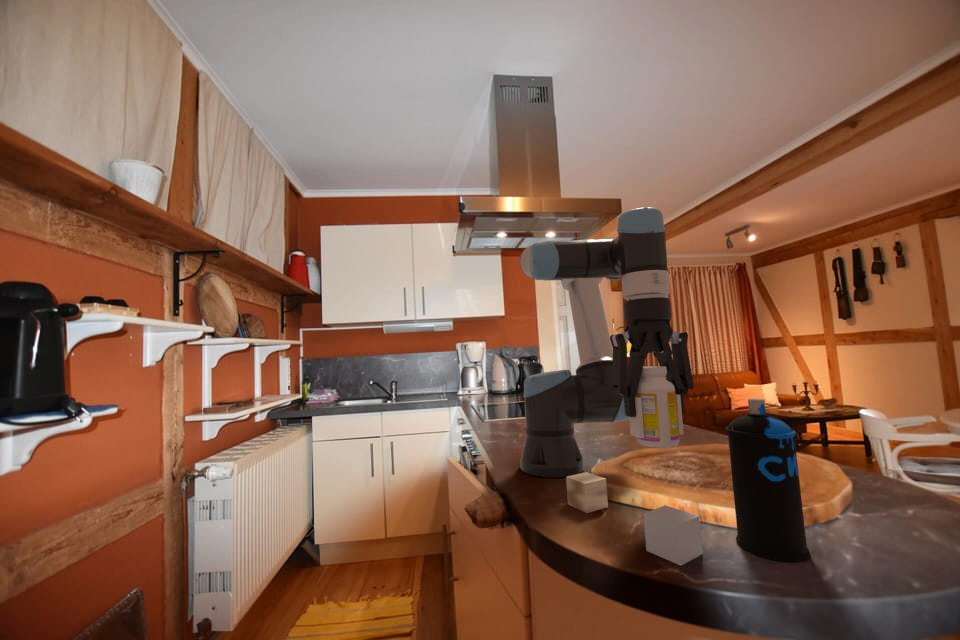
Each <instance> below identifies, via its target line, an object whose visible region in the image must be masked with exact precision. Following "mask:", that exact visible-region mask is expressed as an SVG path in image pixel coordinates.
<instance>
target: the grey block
mask: <svg viewBox="0 0 960 640" xmlns="http://www.w3.org/2000/svg"><path fill="white" fill-rule="evenodd" d="M643 521H644V522H643V523H644V537H645V549H646V552H648V553H651V554H653V555H655V556H658V557H660V558H662V559H665V560H667V561H670V563H674V564H676V565H678V566H683V565H685V564H687V563H689V562H691V561H693V560H694V559H696V558H698V557H700V556H701V555H703V546H702V545H703V544H702V534H701V532H702V531H701V521H700V516H699V515H697V514H694V513H691V512H687V511H684V510H681V509H678V508H674V507H672V506H668V505H663V506H660V507H658V508H657V507H656V508H654V509H652V510H648V511H647V512H645V513H643Z"/></svg>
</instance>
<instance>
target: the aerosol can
mask: <svg viewBox="0 0 960 640" xmlns="http://www.w3.org/2000/svg"><path fill="white" fill-rule="evenodd" d="M747 404H748V413H746V414H745V415H742V416H739V417H736V418H735V419H733V420H732V421H731V422H729V424H728V425H727V426H725V428H724V429H725V431H726V432H727V440H728V450H729V451H728V452H729V458H730V460H729V461H730V469H731V480H732V488H733V492H732V493H733V500H734V510H735V520H736V521H735V522H736V532H737V535H736V536H735V541H736V543H737V545H738V546H739V547H741V548H742V549H743V550H744V551H747V552H749V553H750V554H752V555H755V556H757V557H761V558H763V559H767V560H773V561H778V562H786V563H787V562H788V563H794V562H795V563H797V562H802V561H805V560H807V559H809V558H810V556H811V552H810V549H809V547H808V545H807V537H806V536H807V535H806V529H805V528H806V527H805V518H804V511H803V510H804V509H803V502H802V501H803V500H802V492H801V482H800V475H799V474H800V473H799V465H798V457H797V456H798V455H797V449H796V448H797V447H796V446H797V445H796V439H795V436H797V431H796V430H795V429H793V428H791V427H790V425H788V424H787V423H786V422H785V421H783V420H782V419H779V418H777V417H773V416H771V415H769V414H768V413H767V410H766V401H765V399H763V398H748V399H747Z"/></svg>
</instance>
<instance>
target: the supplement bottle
mask: <svg viewBox="0 0 960 640" xmlns="http://www.w3.org/2000/svg"><path fill="white" fill-rule="evenodd" d="M666 373H667V369H666V367H665V366H660V365H659V366H658V365H657V366H656V365H655V366H643V369H642V373H641V377H640V382H639V386H638V390H637V395H636V397H641V401H642V415H643V428H644V438H637V437H635V438H636V441H637V443H638V444H640V445H642V446H644V447H648V448H649V447H650V448H673V447H676V446H677V445H679V444H680V435H679V429H678V418H677V407H676V397H675V387H674V385H673V384H672V383H671V382H669V381H667V380H666Z"/></svg>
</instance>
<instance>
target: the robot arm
mask: <svg viewBox="0 0 960 640" xmlns="http://www.w3.org/2000/svg"><path fill="white" fill-rule="evenodd" d="M666 230H667V229H666V227H665V223H664V217H663V213H662V211H661V210H660V209H658V208H655V207H651V206H650V207H649V206H648V207H637V208H633V209H630V210H627V211H624V212H623V213H621V215H619V216H618V218H617V229H616V232H617V233H618V234H617V237H616V238H610V239H586V238H583V239H579V240H578V239H576V240H574V239H573V240H547V241H541V242H535V243H532V244H531V245H529V246H526V248H524V250H522V252H521V254H520V256H519V267H520V270H521V271H522V273H523V274H524V275H525V276H527V277H528V278H531V279H533V280H535V281H545V282H546V281H560V282H561V283H560V284H561V285H562V288H563V289H564V290H566V291H568V296H569V297H568V299H569V302H570V303H569V304H570V310H571V316H572V321H573V327H574V333H575V339H576V340H575V341H576V344H577V345H576V346H577V352H578V356H579V363H580V364H579V365H578V367H577V368H575V374H572V372H571V371H570V369H561V370H560V369H559V370H553V371H552V370H551V371H545V372H540V373H536V374H535V373H534V374H532V375H531V374H530V375H529V376H527V377H526V378H524V380H523V381H524V382H523V398H524V416H525V417H524V420H525V440H524V443H523V447H522V451H521V456H520V460H519V464H520V467H519V469H520V470H522V471H521V472H523V473H524V472H525V473H524V474H526V473H527V474H526V475H529V474H530V475H529V476H533V475H534V476H535V477H539V476H541V478H566V477H567V476H572V475H576V474H581V473H583V472H582V471H584V470H585V462H584V457H583V455H582V453H581V450H580V447H579V444H578V441H577V440H576V439H577V438H576V436H575V424H591V423H593V424H595V423H596V424H597V423H599V424H600V423H611V424H613V423H616V422H626V421H629V432H630V433H629V434H630V436H632V437H635V438H636V437H637V438H644V428H643V415H642V401H641V397H636V395H637V390H638V386H639V382H640V377H641V373H642V369H643V367H644V364H645V359H646V358H647V357H648V355H649V354H651V353H652V355H653V356H654V358H656V360H657V363H658V365H659V366H665V367H666V369H667V373H666V380H667V381H669V382H671V383H672V384H673V385H674V387H675V397H676V407H677V418H678V429H679V436H680V435H684V423H683V414H682V413H685V410H686V409H685V398H684V397H685V396H684V395H688V393H689V390H693V389H694V388H695V386H694V385H695V384H694V379H693V373H692V372H693V371H692V369H691V367H692V366H691V362H690V361H691V360H690V355H689V350H688V339H689V334H688V332H687V331H680V332H679V331H677V330H676V331H675V330H674V329H673V327H672V326H671V319H672V318H673V314H672V300H671V299H670V298H669V297H667V296H669V295H670V291H671V290H670V281H669V271H668V257H667V256H668V255H667V241H666ZM603 278H605V279H607V280H609V281H619V280H621V288H622V289H621V292H622V298H623V299H624V300H626V301H624V302H623V304H622V305H623V316H624V321H625V324H626V326H625V329H624V332H621V333H616V334H611V335H610V331H609V328H608V327H609V326H608V323H607V317H606V313H605V308H604V303H603V299H602V294H601V290H600V284H601V282H602V281H603ZM669 342H670V343H671V345H670V343H669ZM628 344H630V345H631V346H630V348H629V353H628V346H627V345H628ZM628 354H629V355H628ZM628 356H629V360H628Z"/></svg>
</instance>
